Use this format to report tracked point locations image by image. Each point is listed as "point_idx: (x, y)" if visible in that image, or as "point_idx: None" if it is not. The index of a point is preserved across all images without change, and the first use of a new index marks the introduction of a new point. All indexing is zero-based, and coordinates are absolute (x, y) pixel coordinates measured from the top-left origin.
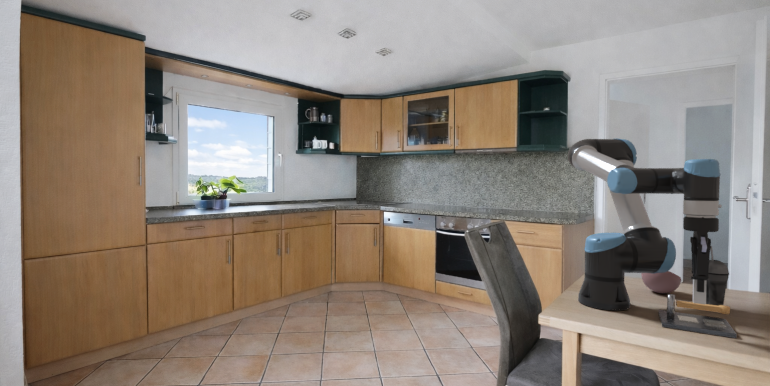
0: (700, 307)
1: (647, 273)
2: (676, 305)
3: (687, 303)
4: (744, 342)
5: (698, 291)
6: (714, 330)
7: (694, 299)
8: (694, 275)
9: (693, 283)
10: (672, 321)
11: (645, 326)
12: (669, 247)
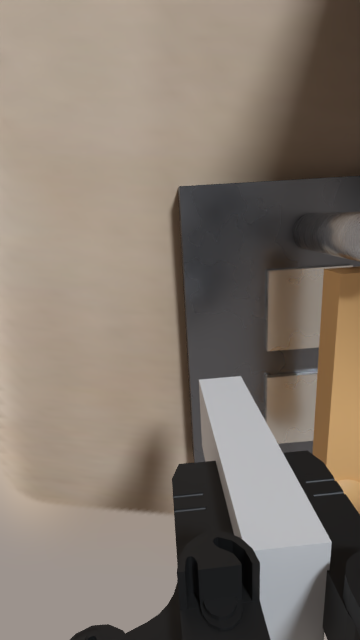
0: (322, 392)
1: None
2: (345, 267)
3: (335, 334)
4: (160, 470)
5: (175, 475)
6: (191, 400)
7: (202, 399)
8: (354, 603)
9: (255, 490)
10: (232, 238)
11: (131, 101)
12: None
